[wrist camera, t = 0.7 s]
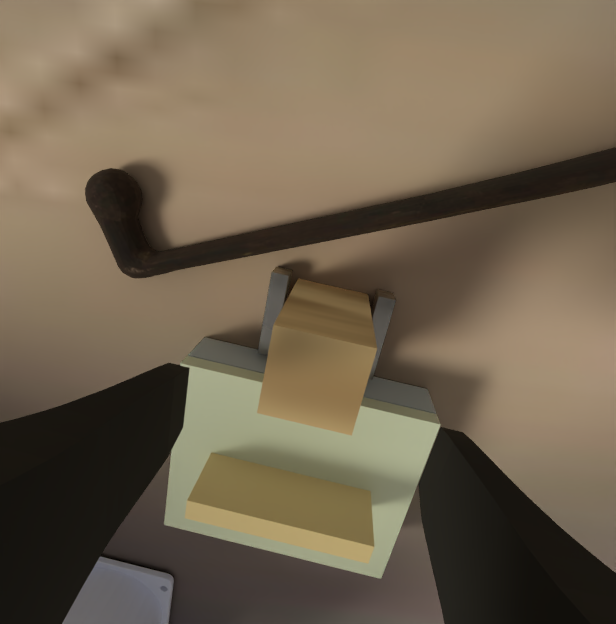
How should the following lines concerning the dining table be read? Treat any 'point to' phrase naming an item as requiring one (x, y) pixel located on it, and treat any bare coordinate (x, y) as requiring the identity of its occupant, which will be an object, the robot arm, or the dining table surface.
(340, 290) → the wooden block
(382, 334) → the keeper
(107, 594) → the robot arm
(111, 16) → the dining table surface
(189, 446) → the lid
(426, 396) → the shallow grey tray
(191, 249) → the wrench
